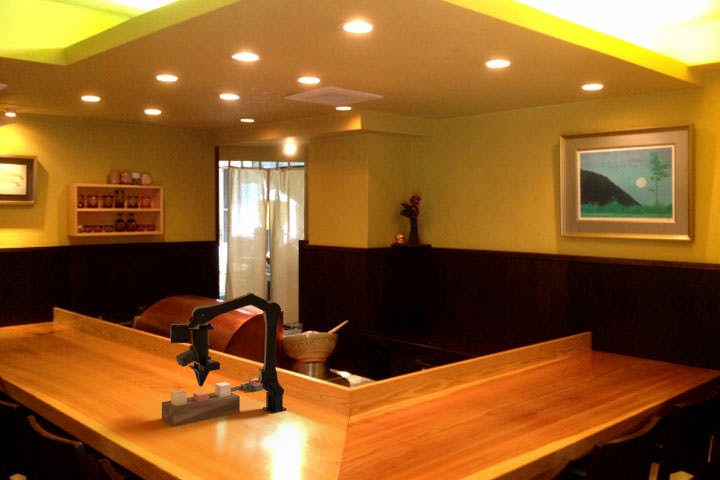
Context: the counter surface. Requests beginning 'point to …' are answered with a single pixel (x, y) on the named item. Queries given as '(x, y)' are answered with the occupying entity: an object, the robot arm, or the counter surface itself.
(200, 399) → the plug terracotta
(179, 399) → the cream plug
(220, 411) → the socket board
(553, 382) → the counter surface
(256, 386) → the walkie-talkie
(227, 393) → the cream plug
